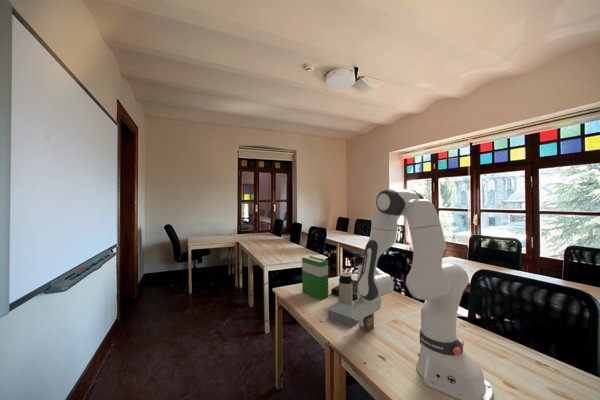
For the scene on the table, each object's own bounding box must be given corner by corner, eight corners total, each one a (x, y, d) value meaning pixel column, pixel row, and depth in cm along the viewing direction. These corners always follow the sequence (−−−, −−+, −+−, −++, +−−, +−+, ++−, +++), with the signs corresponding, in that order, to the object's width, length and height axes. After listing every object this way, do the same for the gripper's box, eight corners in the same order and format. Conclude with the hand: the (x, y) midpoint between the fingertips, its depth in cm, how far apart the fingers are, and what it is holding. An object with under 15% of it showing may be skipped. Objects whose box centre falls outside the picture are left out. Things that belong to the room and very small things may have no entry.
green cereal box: (302, 292, 165) (302, 257, 165) (310, 289, 169) (310, 256, 169) (320, 300, 151) (319, 262, 151) (328, 297, 155) (328, 260, 156)
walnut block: (373, 328, 117) (373, 316, 117) (368, 332, 114) (368, 319, 114) (365, 324, 121) (365, 312, 121) (359, 327, 118) (359, 315, 118)
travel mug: (354, 305, 143) (353, 275, 143) (340, 306, 142) (340, 276, 142) (350, 300, 151) (350, 271, 151) (337, 300, 150) (337, 272, 150)
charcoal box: (363, 319, 127) (363, 309, 127) (351, 328, 118) (351, 318, 118) (340, 311, 137) (340, 302, 137) (328, 318, 128) (328, 309, 128)
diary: (331, 295, 161) (330, 287, 161) (348, 285, 180) (348, 278, 181) (356, 302, 149) (356, 294, 149) (372, 290, 169) (372, 283, 169)
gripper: (359, 303, 109) (359, 333, 109) (383, 292, 122) (383, 319, 122) (348, 298, 114) (348, 328, 113) (372, 288, 127) (372, 314, 127)
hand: (366, 323), depth 118 cm, fingers open, 6 cm apart
